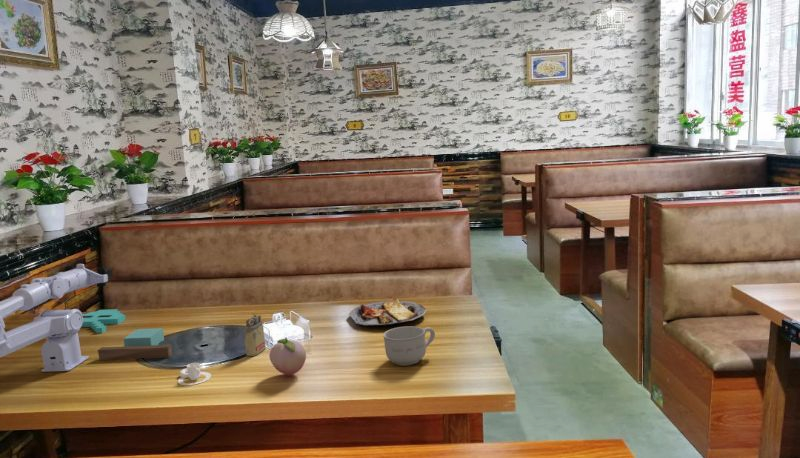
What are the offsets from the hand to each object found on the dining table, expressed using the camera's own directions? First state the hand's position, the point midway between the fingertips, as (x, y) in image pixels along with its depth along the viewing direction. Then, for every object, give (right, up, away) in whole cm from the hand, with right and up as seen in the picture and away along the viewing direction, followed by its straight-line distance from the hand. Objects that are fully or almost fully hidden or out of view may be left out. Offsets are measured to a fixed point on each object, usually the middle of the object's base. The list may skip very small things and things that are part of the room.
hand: (99, 271), depth 180 cm
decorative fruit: (+64, -24, -33) cm, 76 cm away
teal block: (+16, -22, -4) cm, 27 cm away
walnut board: (+17, -23, -14) cm, 32 cm away
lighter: (+51, -21, -15) cm, 58 cm away
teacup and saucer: (+41, -25, -28) cm, 55 cm away
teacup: (+95, -21, -28) cm, 101 cm away
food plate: (+88, -15, +8) cm, 89 cm away
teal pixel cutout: (-13, -20, +21) cm, 31 cm away
